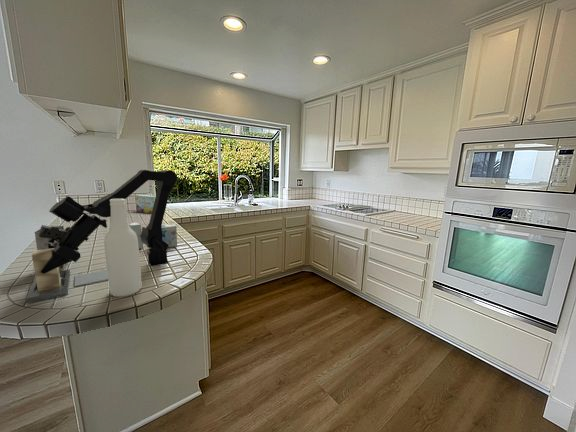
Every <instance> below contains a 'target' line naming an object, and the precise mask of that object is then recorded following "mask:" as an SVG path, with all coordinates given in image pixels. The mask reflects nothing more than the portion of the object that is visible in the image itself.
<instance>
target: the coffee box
mask: <svg viewBox="0 0 576 432" xmlns="http://www.w3.org/2000/svg"><path fill="white" fill-rule="evenodd" d="M53 227H58V228H59V229H63V230H65V228H64V225H59V226H58V225H56V226H53ZM39 230H40V229H38V230H36V231H34V237H35V243H36V244H35V245H36V250H43V249H48V245H47V243H49V244H51V243H52V242H48V241H47V240H48V239H49V238H42V237H39V235H38V233H39ZM69 264H70V262H68V263H66V264H64V265H62V266H59V271H63V270H66V268H67V266H68V265H69Z"/></svg>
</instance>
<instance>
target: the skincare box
mask: <svg viewBox="0 0 576 432" xmlns="http://www.w3.org/2000/svg"><path fill="white" fill-rule="evenodd" d="M129 226H130V228H131V229H132V230H133V231H134V232H135V233H136V235H137V237H138V247H139V249H140V250H141V249H144V243H143V242H142V241H141V237H140V235H141V233H142V224H140V223H138V222H132V223H129Z"/></svg>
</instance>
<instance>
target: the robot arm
mask: <svg viewBox="0 0 576 432" xmlns="http://www.w3.org/2000/svg"><path fill="white" fill-rule="evenodd" d="M177 180H178V175H177V174H176V172H175V171H173V170H170V169H167V170H166V169H161V170H159V171H154V170H148V169H140V170H138V172H137V173H136V174H134V175H133V176H132V177H130V178H129V179H128V180H126V182H125V183H123V184H122V185H121V186H120V187H118V188H116V189H115V190H114V191H113V192H111V193H109V194H107V195H104V196H102V197H101V198H99V199H97V200H95V201H94V202H93V203H90V204H84V205H82V204H81V203H79V202H77V201H76V200H74V198H72V197H71V196H69V195H66V197H64V198H63V199H61V200H59V201H57V202H56V203H54V205H53V206H52V207H50V209H49V210H48V212H49V213H51V214H53V215H54V216H56V217H57V218H60V219H62V220H64V221H65V222H66V223H70V222H75V223H73V225H71V226H66V227H65V228H64V230H63V229H59V228H58V227H54V226H52V225H51V226H49V225H45V224H44V225H43V224H42V225H41V227H40V228H39V229H38V230H39V233H38V235H39V237H42V238H49V239H48V240H47V241H48V242H52V243H51V244H49V243H47V245H48V249H51V248H55V249H54V250H52V249H51V253H52V257H51V258H50V259H49V261H48V262H47V263H46V265H45V266H44V267H43V269H42V270H41V273H43V274H45V273H47V272H49V271H51V270H53V269H55V268H57V267H59V266H62V265H64V264H66V263H72V262H73V263H77V262H78V261H79V259H81V252H80V251H79V247H80V246H81V245H82V244H83V243H84V242H85V241H86V242H87V241H88V240H90V239H89V237H90V236H91V235H92V233H94V232H95V231H96V230H97V229H98V227H100V226H102V227H103V228H105V229H106V228H108V225H107V219H106V218H111V206H110V201H109V200H111V199H125V200H126V199H127V198H129V197H130V196H131V195H132V194H133V193H135V191H137V190H138V189H139V188H141V187H142V186H143V185H144V184H145V183H146V182H148V181H155V185H156V194H155V196H156V198H155V202H154V206H153V210H152V213H150V214H151V215H150V219H149V222H148V224H147V226H146V227H144V226H141V231H142V233H141V235H140V237H141V241H142V242H143V245H145V246H146V247H147V248H148V252H147V253H146V254H147V263H148V264H149V265H150V266H151V267H155V266H159V265H165V264H168V263H169V261H168V253H167V252H168V248H169V247H168V246H169V245H168V244H167V243H165V242H164V241H163V240H162V237H163V233H162V227H161V226H162V225H163V220H164V217H165V212H166V209H167V205H168V200H169V196H170V193H171V192H172V190H173V189H174V188H175V185H176V183H177ZM85 212H87V213H89V214H91V216H90V215H88V214H87V213H85ZM96 215H97V216H99V217H101V218H103V219H101V218H99V217H97V216H96ZM104 218H105V219H104Z"/></svg>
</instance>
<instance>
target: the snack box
mask: <svg viewBox="0 0 576 432" xmlns="http://www.w3.org/2000/svg"><path fill="white" fill-rule="evenodd" d="M134 197H135V207H136V212H139V213H147V214H152V210H153V206H154V202H155V198H156V195H148V194H135V195H134Z"/></svg>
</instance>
